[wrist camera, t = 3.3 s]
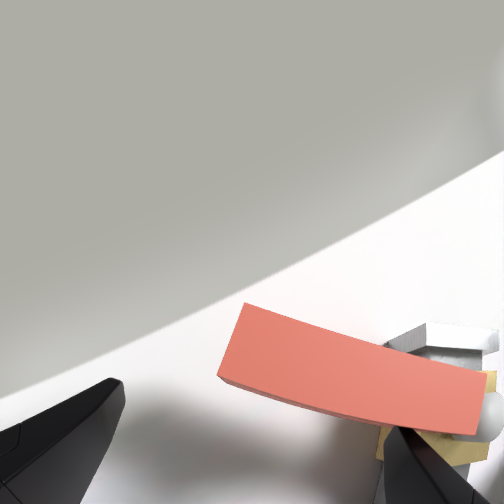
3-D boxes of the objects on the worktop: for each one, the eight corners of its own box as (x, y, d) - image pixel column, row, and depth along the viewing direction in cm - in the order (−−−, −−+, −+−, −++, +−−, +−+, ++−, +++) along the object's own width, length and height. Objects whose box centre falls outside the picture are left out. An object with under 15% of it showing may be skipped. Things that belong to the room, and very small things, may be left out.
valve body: (426, 522, 12) (465, 540, 8) (353, 531, 12) (382, 560, 8) (454, 347, 18) (498, 330, 14) (388, 340, 18) (427, 322, 14)
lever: (485, 398, 11) (561, 383, 7) (475, 442, 10) (551, 441, 6) (244, 334, 13) (246, 295, 8) (224, 387, 12) (213, 382, 7)
